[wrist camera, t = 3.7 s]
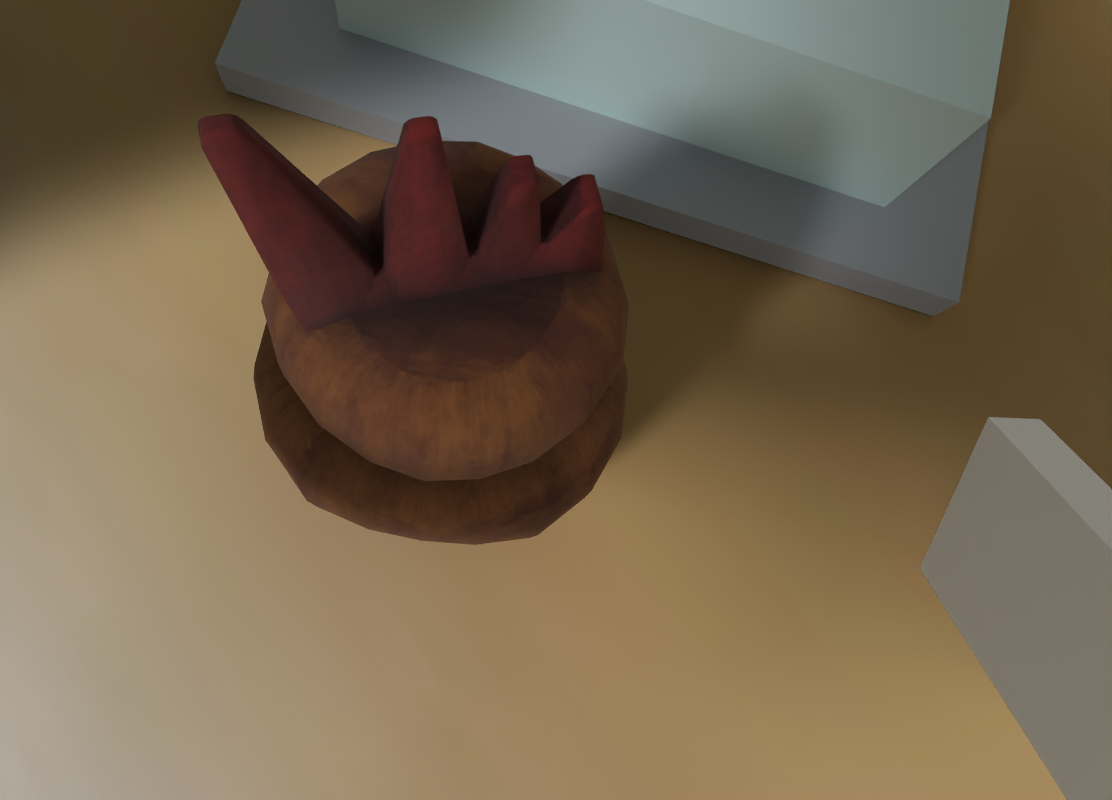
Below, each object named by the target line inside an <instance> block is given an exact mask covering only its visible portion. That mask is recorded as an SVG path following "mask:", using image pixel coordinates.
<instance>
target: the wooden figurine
mask: <svg viewBox="0 0 1112 800" xmlns="http://www.w3.org/2000/svg"><path fill="white" fill-rule="evenodd" d="M198 130H199V135H200V140H201V146H202V149H203V151H204V153H205V155H206V156H207V158H208V160H209V162H210V164H211V166H212V168H213V169H214V171H215V173H216V175H217V177H218V179H219V181H220V182H221V184H222V186H223V188H224V190H225V192H226V194H227V195H228V197H229V199H230V201H231V203H232V205H233V206H234V208H235V210H236V212H237V214H238V216H239V218H240V219H241V221H242V223H243V225H244V227H245V229H246V231H247V232H248V234H249V236H250V238H251V240H252V242H253V244H254V245H255V247H256V249H257V251H258V253H259V255H260V257H261V258H262V260H263V262H264V264H265V266H266V268H267V269H268V271H269V275H268V278H267V282H266V286H265V290H264V294H263V298H262V301H261V302H262V306H263V309H264V313H265V317H266V320H267V322H266V326H265V329H264V333H263V337H262V340H261V344H260V348H259V351H258V355H257V358H256V362H255V368H254V382H255V388H256V393H257V398H258V404H259V409H260V414H261V419H262V425H263V430H264V435H265V440H266V441H267V443H268V444H269V446H270V447H271V448H272V450H273V451H274V453H275V454H276V456H277V457H278V458H279V460H280V461H281V463H282V464H283V466H284V467H285V469H286V470H287V472H288V473H289V475H290V476H291V478H292V479H293V481H294V482H295V484H296V485H297V487H298V488H299V489H300V491H301V492H302V494H303V495H304V497H305V498H306V500H307V501H308V502H310V503H312V504H314V505H315V506H317V507H319V508H321V509H324V510H326V511H328V512H331V513H333V514H335V515H337V516H340V517H342V518H344V519H346V520H349V521H351V522H353V523H356V524H358V525H360V526H362V527H365V528H367V529H370V530H374V531H379V532H384V533H389V534H393V535H398V536H403V537H407V538H412V539H417V540H421V541H434V542H447V543H460V544H473V545H476V544H484V543H492V542H500V541H508V540H516V539H523V538H530V537H533V536H536V535H538V534H540V533H541V532H542V531H543V530H545V529H546V528H547V527H548V526H550V525H551V524H552V523H553V522H555V521H556V520H557V519H558V518H560V517H561V516H562V515H563V514H565V513H566V512H567V511H568V510H570V509H571V508H572V507H574V506H575V505H576V504H577V503H579V502H580V501H581V500H582V499H584V498H585V497H586V496H587V495H588V494H589V493H590V491H591V490H592V489H593V487H594V485H595V483H596V482H597V480H598V478H599V476H600V474H601V473H602V471H603V469H604V467H605V465H606V464H607V462H608V460H609V458H610V456H611V455H612V453H613V451H614V449H615V447H616V446H617V444H618V442H619V440H620V438H621V433H622V424H623V416H624V407H625V398H626V389H627V373H626V367H625V364H624V361H623V357H624V346H625V335H626V323H627V312H628V302H627V298H626V295H625V291H624V288H623V285H622V281H621V278H620V275H619V271H618V268H617V264H616V261H615V258H614V254H613V251H612V247H611V245H610V243H609V240H608V238H607V235H606V233H605V227H604V212H603V205H602V201H601V198H600V194H599V190H598V187H597V183H596V179H595V176H594V175H592V174H584V175H580V176H577V177H575V178H573V179H571V180H570V181H569V182H567V183H566V184H565V185H563V184H561V183H560V182H558V181H557V180H555V179H554V178H552V177H551V176H549V175H548V174H546V173H545V172H544V171H542V170H541V169H539V168H538V167H536V166H535V165H534V161H533V157H532V156H531V155H520V156H514V155H512V154H509V153H506V152H504V151H501V150H499V149H496V148H493V147H491V146H488V145H485V144H483V143H480V142H474V141H442V137H441V133H440V129H439V125H438V121H437V119H436V118H434V117H432V116H423V117H416V118H412V119H409V120H407V121H406V122H405V123H404V124H403V127H402V131H401V135H400V138H399V142H398V145H397V147H393V148H388V149H383V150H379V151H374V152H371V153H369V154H367V155H365V156H364V157H362V158H360V159H358V160H357V161H355V162H353V163H351V164H350V165H348V166H346V167H344V168H343V169H341V170H339V171H337V172H336V173H334V174H332V175H330V176H329V177H327V178H325V179H323V180H322V181H321V182H320V184H319V185H318V186H317V185H315V184H314V183H313V182H312V181H311V180H310V179H309V178H308V177H306V176H305V175H304V174H303V173H302V172H301V171H300V170H299V169H298V168H296V167H295V166H294V165H293V164H292V163H291V162H290V161H289V160H287V159H286V158H285V157H284V156H283V155H282V154H281V153H280V152H278V151H277V150H276V149H275V148H274V147H273V146H272V145H271V144H269V143H268V142H267V141H266V140H265V139H264V138H263V137H262V136H260V135H259V134H258V133H257V132H256V131H255V130H254V129H253V128H251V127H250V126H249V125H248V124H247V123H246V122H245V121H244V120H242V119H241V118H239V117H238V116H236V115H231V114H222V115H214V116H206V117H204V118H202V119H200V121H199V123H198Z"/></svg>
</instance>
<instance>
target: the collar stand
mask: <svg viewBox="0 0 1112 800" xmlns="http://www.w3.org/2000/svg"><path fill="white" fill-rule="evenodd" d="M1009 4H1010V0H241V3H240V5H239V7H238V10H237V12H236V14H235V17H234V19H233V21H232V24H231V26H230V28H229V31H228V33H227V35H226V38H225V40H224V42H223V45H222V47H221V49H220V52H219V54H218V56H217V59H216V61H215V65H216V68H217V70H218V72H219V75H220V77H221V80H222V82H223V84H224V87H225V89H226V91H229V92H232V93H235V94H238V95H242V96H245V97H248V98H251V99H254V100H257V101H260V102H263V103H267V104H270V105H273V106H276V107H279V108H282V109H285V110H289V111H292V112H295V113H298V114H301V115H304V116H307V117H310V118H314V119H317V120H320V121H323V122H326V123H329V124H332V125H335V126H339V127H342V128H345V129H348V130H351V131H354V132H357V133H361V134H364V135H367V136H370V137H373V138H376V139H379V140H382V141H386V142H389V143H392V144H395V145H398V142H399V138H400V135H401V131H402V127H403V124H404V123H405V122H406V121H407V120H409V119H412V118H416V117H423V116H432V117H434V118H436V119H437V121H438V125H439V129H440V133H441V137H442V141H474V142H480V143H483V144H485V145H488V146H491V147H493V148H496V149H499V150H501V151H504V152H506V153H509V154H512V155H514V156H520V155H531V156H532V157H533V161H534V165H535V166H536V167H538V168H539V169H541V170H542V171H544V172H545V173H546V174H548V175H549V176H551V177H552V178H554V179H555V180H557V181H558V182H560V183H561V184H563V185H565V184H566V183H567V182H569V181H570V180H571V179H573V178H575V177H577V176H580V175H584V174H592V175H594V176H595V179H596V183H597V187H598V190H599V194H600V198H601V201H602V205H603V211H605V212H608V213H611V214H614V215H617V216H621V217H624V218H627V219H630V220H633V221H636V222H639V223H642V224H646V225H649V226H652V227H655V228H658V229H661V230H664V231H667V232H671V233H674V234H677V235H680V236H683V237H686V238H689V239H693V240H696V241H699V242H702V243H705V244H708V245H711V246H714V247H718V248H721V249H724V250H727V251H730V252H733V253H736V254H740V255H743V256H746V257H749V258H752V259H755V260H758V261H761V262H765V263H768V264H771V265H774V266H777V267H780V268H783V269H787V270H790V271H793V272H796V273H799V274H802V275H805V276H808V277H812V278H815V279H818V280H821V281H824V282H827V283H830V284H834V285H837V286H840V287H843V288H846V289H849V290H852V291H855V292H859V293H862V294H865V295H868V296H871V297H874V298H877V299H880V300H884V301H887V302H890V303H893V304H896V305H899V306H902V307H906V308H909V309H912V310H915V311H918V312H921V313H924V314H927V315H931V316H935V315H937V314H939V313H941V312H943V311H945V310H946V309H948V308H950V307H952V306H954V305H956V304H958V303H959V302H960V295H961V289H962V283H963V277H964V271H965V265H966V259H967V252H968V246H969V240H970V234H971V228H972V222H973V216H974V209H975V203H976V197H977V191H978V185H979V179H980V172H981V166H982V160H983V154H984V148H985V142H986V136H987V129H988V123H989V119H991V115H992V109H993V102H994V96H995V90H996V84H997V78H998V72H999V65H1000V59H1001V53H1002V47H1003V41H1004V35H1005V28H1006V22H1007V16H1008V10H1009Z"/></svg>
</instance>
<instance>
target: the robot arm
mask: <svg viewBox="0 0 1112 800" xmlns="http://www.w3.org/2000/svg"><path fill="white" fill-rule="evenodd" d="M920 570H921V571H922V573H923V574H924V576H925V577H926V579H927V581H928V582H929V584H930V585H931V587H932V588H933V590H934V592H935V593H936V595H937V596H938V598H939V599H940V601H941V603H942V604H943V606H944V607H945V609H946V610H947V612H948V614H949V615H950V617H951V618H952V620H953V622H954V623H955V625H956V626H957V628H958V629H959V631H960V633H961V634H962V636H963V637H964V639H965V640H966V642H967V644H968V645H969V647H970V648H971V650H972V651H973V653H974V655H975V656H976V658H977V659H978V661H979V662H980V664H981V666H982V667H983V669H984V670H985V672H986V673H987V675H988V677H989V678H990V680H991V681H992V683H993V684H994V686H995V688H996V689H997V691H998V692H999V694H1000V695H1001V697H1002V699H1003V700H1004V702H1005V703H1006V705H1007V706H1008V708H1009V710H1010V711H1011V713H1012V714H1013V716H1014V717H1015V719H1016V721H1017V722H1018V724H1019V725H1020V727H1021V728H1022V730H1023V732H1024V733H1025V735H1026V736H1027V738H1028V739H1029V741H1030V743H1031V744H1032V746H1033V747H1034V749H1035V750H1036V752H1037V754H1038V755H1039V757H1040V758H1041V760H1042V761H1043V763H1044V765H1045V766H1046V768H1047V769H1048V771H1049V772H1050V774H1051V776H1052V777H1053V779H1054V780H1055V782H1056V783H1057V785H1058V787H1059V788H1060V790H1061V791H1062V793H1063V794H1064V796H1065V798H1066V799H1067V800H1112V489H1111V488H1110V487H1109V486H1108V485H1107V484H1106V483H1105V482H1104V481H1103V480H1102V479H1101V478H1100V477H1099V476H1098V475H1097V474H1096V473H1095V472H1094V471H1093V470H1092V469H1091V468H1090V467H1089V466H1088V465H1087V464H1086V463H1085V462H1084V461H1083V460H1082V459H1081V458H1080V457H1079V456H1078V455H1077V454H1076V453H1074V452H1073V451H1072V450H1071V449H1070V448H1069V447H1068V446H1067V445H1066V444H1065V443H1064V442H1063V441H1062V440H1061V439H1060V438H1059V437H1058V436H1057V435H1056V434H1055V433H1054V432H1053V431H1052V430H1051V429H1050V428H1049V427H1048V426H1047V425H1046V424H1045V423H1044V422H1043V421H1042V420H1041V419H1024V418H1000V417H988V419H987V421H986V423H985V426H984V428H983V430H982V432H981V434H980V437H979V439H978V441H977V443H976V445H975V448H974V450H973V452H972V454H971V456H970V459H969V461H968V463H967V465H966V468H965V470H964V472H963V474H962V476H961V479H960V481H959V483H958V485H957V487H956V490H955V492H954V494H953V496H952V498H951V501H950V503H949V505H948V507H947V510H946V512H945V514H944V516H943V518H942V521H941V523H940V525H939V527H938V529H937V532H936V534H935V536H934V538H933V540H932V543H931V545H930V547H929V549H928V552H927V554H926V556H925V558H924V560H923V563H922V565H921V567H920Z"/></svg>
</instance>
